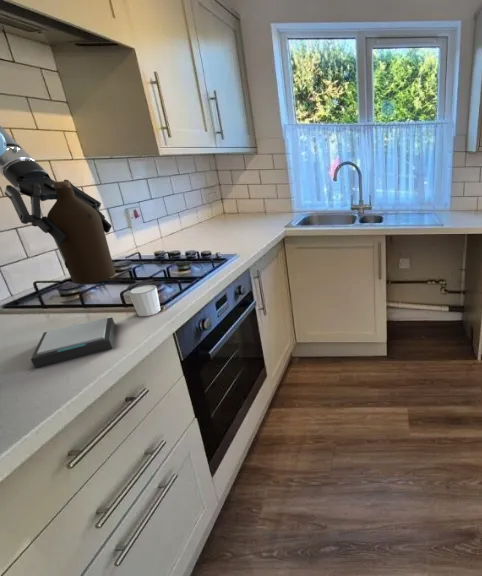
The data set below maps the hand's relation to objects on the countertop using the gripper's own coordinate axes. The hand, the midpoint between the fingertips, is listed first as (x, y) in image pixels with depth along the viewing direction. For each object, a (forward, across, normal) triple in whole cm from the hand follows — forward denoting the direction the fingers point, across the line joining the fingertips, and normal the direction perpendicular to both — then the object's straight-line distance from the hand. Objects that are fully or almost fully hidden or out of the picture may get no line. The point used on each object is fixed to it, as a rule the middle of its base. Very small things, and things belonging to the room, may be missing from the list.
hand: (87, 234), depth 92 cm
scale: (+20, -13, +13) cm, 28 cm away
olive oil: (+7, 0, +11) cm, 13 cm away
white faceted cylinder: (+21, +5, +12) cm, 25 cm away
